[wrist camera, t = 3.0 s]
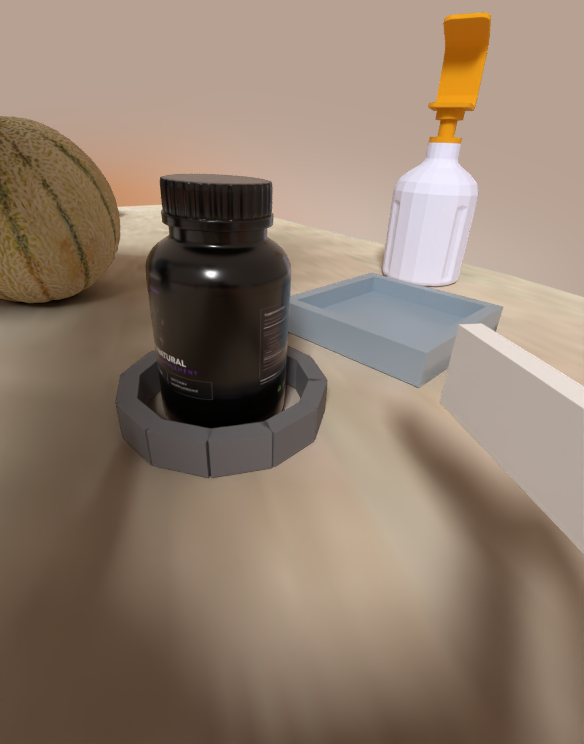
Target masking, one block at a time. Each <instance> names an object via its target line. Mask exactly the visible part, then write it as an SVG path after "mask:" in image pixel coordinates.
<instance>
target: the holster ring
mask: <svg viewBox="0 0 584 744" xmlns="http://www.w3.org/2000/svg"><path fill="white" fill-rule="evenodd" d="M285 383H286V384H288V385H290V386H292V387H294V388H296V390H297V392H298V394H299V396H300V398H301V399H300V401H299V403H297V404H295V405H294V406H292V407H290V408H288V409H286V410H284V411H282V412H281V413H279V414H277V415H275V416H273V417H271V418H269V419H268V420H266V421H264V422H258V423H250V424H243V425H235V426H228V427H220V428H212V429H210V428H205V427H200V426H195V425H189V424H184V423H179V422H174V421H169V420H164V419H162V418H160V417H159V416H158V415H157V414H156V413H154V412H153V411H152V410H151V409H150V408H148V407H147V406H146V404H147V403H148V402H149V401H150V400H151V399H152V398H153V397H154V396H155V395H156V394H157V393H158V392H159V391H160V390H161V388H160V380H159V372H158V364H157V357H156V350H155V351H151V353H150V352H149V353H148V354H147V355H145V356H144V357H143V358H141V359H140V360H139V361H137V362H136V363H135V364H134V365H132V366H131V367H130V368H128V369H127V370H126V371H124V372H123V373H122V374H121V375H120V380H119V385H118V391H117V396H116V402H115V404H116V408H117V413H118V418H119V423H120V428H121V432H122V436H123V438H124V439H125V440H126V441H127V442H128V443H129V444H130V445H131V446H132V447H133V448H134V449H135V450H136V451H137V452H138V453H139V454H140V455H141V456H142V457H143V458H144V459H145V460H146V461H147V462H148V463H149V464H152V465H153V466H157V467H161V468H166V469H170V470H175V471H179V472H184V473H188V474H193V475H197V476H202V477H206V478H209V476H210V474H211V478H214V477H221V476H227V475H233V474H239V473H245V472H251V471H257V470H264V469H270V468H272V466H273V467H275V466H277V465H279V464H280V463H282V462H283V461H285V460H286V459H288V458H289V457H291V456H292V455H294V454H295V453H297V452H298V451H300V450H302V449H303V448H305V447H306V446H308V445H309V444H311V443H312V442H314V440H315V439H316V435H317V432H318V429H319V426H320V423H321V420H322V417H323V414H324V411H325V402H326V391H327V379H326V377H325V376H324V374H323V373H322V371H321V370H320V369H319V367H318V366H317V364H316V363H315V361H314V360H313V359H312V357H310V356H309V355H306V354H304V353H302V352H300V351H298V350H295V349H293V348H291V347H289V346H287V363H286V382H285Z"/></svg>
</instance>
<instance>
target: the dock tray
mask: <svg viewBox="0 0 584 744" xmlns="http://www.w3.org/2000/svg"><path fill="white" fill-rule="evenodd" d="M502 309H503V307H502V306H498V305H495V304H491V303H487V302H483V301H479V300H475V299H471V298H467V297H464V296H460V295H456V294H452V293H448V292H444V291H440V290H437V289H433V288H429V287H425V286H421V285H417V284H413V283H409V282H406V281H402V280H398V279H394V278H390V277H386V276H382V275H379V274H375V273H369V274H365V275H362V276H359V277H355V278H352V279H348V280H345V281H341V282H338V283H334V284H331V285H327V286H324V287H320V288H317V289H313V290H310V291H307V292H303V293H300V294H296V295H293V296H290V305H289V324H288V332H290V333H292V334H294V335H297V336H299V337H301V338H304V339H306V340H308V341H311V342H313V343H315V344H318V345H320V346H322V347H325V348H327V349H329V350H332V351H334V352H336V353H339V354H341V355H343V356H346V357H348V358H350V359H353V360H355V361H358V362H360V363H362V364H365V365H367V366H369V367H372V368H374V369H376V370H379V371H381V372H383V373H386V374H388V375H390V376H393V377H395V378H397V379H400V380H402V381H404V382H407V383H409V384H411V385H414V386H416V387H418V388H419V387H421V386H422V385H424V384H425V383H426V382H428V381H429V380H431V379H432V378H434V377H435V376H436V375H438V374H439V373H441V372H442V371H444V370H445V369H446V368H448V366H449V362H450V358H451V354H452V350H453V346H454V342H455V338H456V334H457V330H458V326H459V324H479V323H482V324H483V325H485V326H487V327H488V328H490V329H492V330H493V331H495V332H496V329H497V326H498V323H499V319H500V316H501V313H502Z"/></svg>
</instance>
